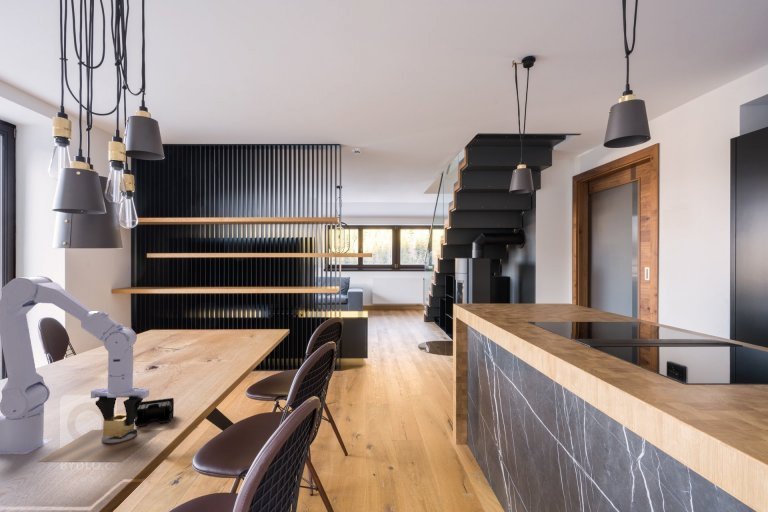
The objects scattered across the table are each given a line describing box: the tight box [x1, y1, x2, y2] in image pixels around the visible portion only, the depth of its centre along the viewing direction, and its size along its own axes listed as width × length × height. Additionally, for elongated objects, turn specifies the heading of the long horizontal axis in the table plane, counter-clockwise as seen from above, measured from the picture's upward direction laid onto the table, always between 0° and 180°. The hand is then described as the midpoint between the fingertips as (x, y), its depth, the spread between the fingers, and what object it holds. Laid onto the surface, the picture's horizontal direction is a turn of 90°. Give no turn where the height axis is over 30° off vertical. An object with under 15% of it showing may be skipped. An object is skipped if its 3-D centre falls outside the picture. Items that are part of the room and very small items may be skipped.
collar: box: [102, 413, 135, 436], centre depth 107 cm, size 5×5×4 cm
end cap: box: [134, 397, 175, 427], centre depth 118 cm, size 10×7×7 cm
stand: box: [101, 428, 138, 444], centre depth 107 cm, size 8×8×4 cm
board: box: [36, 429, 164, 463], centre depth 103 cm, size 20×18×1 cm
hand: (119, 424), depth 107 cm, fingers closed on collar, 5 cm apart
